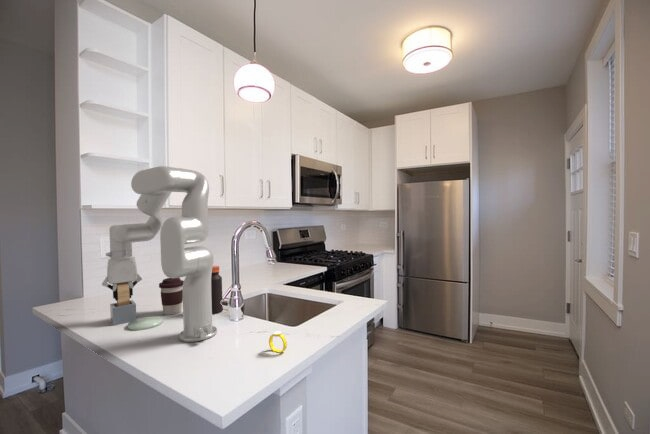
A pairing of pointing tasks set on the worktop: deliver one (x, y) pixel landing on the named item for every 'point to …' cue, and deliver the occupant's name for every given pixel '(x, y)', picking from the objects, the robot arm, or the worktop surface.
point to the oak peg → (123, 294)
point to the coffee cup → (171, 295)
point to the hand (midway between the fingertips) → (123, 298)
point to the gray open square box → (123, 313)
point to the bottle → (216, 290)
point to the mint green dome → (145, 323)
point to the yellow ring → (279, 333)
